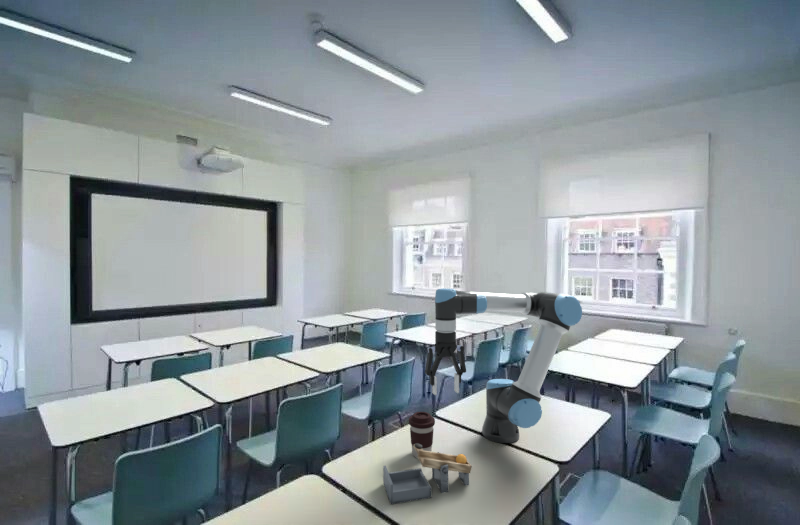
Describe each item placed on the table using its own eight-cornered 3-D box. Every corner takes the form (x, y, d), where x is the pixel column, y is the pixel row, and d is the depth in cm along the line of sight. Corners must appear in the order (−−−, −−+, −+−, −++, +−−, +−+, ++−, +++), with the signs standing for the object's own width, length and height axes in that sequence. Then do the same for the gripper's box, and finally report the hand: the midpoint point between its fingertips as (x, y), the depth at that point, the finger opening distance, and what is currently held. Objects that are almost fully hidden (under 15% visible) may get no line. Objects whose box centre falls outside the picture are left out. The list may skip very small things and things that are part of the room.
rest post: (462, 476, 128) (462, 465, 128) (469, 484, 124) (469, 473, 124) (458, 477, 128) (458, 465, 128) (464, 485, 123) (464, 473, 123)
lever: (454, 452, 136) (455, 446, 136) (470, 473, 123) (472, 466, 123) (411, 446, 132) (412, 439, 132) (422, 466, 119) (424, 459, 119)
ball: (462, 462, 128) (465, 452, 128) (466, 468, 124) (469, 457, 124) (453, 461, 127) (455, 451, 127) (457, 467, 123) (460, 456, 124)
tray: (421, 478, 127) (421, 460, 127) (431, 497, 117) (431, 478, 117) (383, 483, 124) (383, 465, 124) (390, 504, 114) (390, 484, 114)
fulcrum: (438, 475, 129) (438, 451, 129) (449, 493, 119) (448, 466, 119) (431, 476, 128) (431, 452, 128) (441, 494, 119) (441, 467, 119)
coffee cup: (433, 462, 137) (433, 421, 137) (406, 459, 139) (406, 419, 139) (436, 449, 147) (436, 410, 147) (411, 446, 149) (411, 408, 149)
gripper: (467, 327, 144) (467, 387, 144) (415, 330, 139) (415, 391, 139) (476, 331, 137) (476, 393, 137) (421, 334, 132) (421, 399, 132)
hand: (445, 392), depth 138 cm, fingers open, 8 cm apart
